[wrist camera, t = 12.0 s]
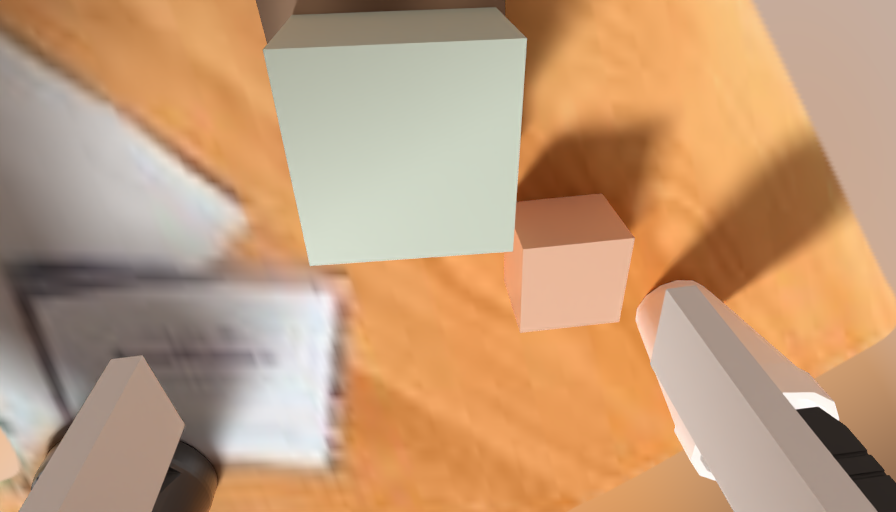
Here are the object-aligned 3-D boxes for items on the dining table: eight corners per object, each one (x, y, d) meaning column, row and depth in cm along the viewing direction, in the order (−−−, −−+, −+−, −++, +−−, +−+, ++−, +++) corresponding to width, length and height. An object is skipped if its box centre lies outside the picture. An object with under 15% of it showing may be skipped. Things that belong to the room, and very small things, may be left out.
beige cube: (503, 279, 40) (520, 332, 35) (504, 201, 36) (523, 249, 31) (590, 270, 40) (619, 321, 35) (601, 192, 36) (634, 238, 31)
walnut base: (319, 185, 34) (312, 215, 31) (271, -13, 27) (255, -1, 24) (495, 166, 35) (506, 194, 32) (491, -34, 28) (504, -25, 25)
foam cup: (656, 253, 40) (753, 380, 29) (749, 276, 42) (870, 403, 32) (598, 339, 45) (664, 475, 34) (685, 356, 47) (771, 488, 36)
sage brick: (324, 197, 30) (310, 265, 25) (291, 14, 25) (262, 49, 19) (490, 186, 31) (512, 251, 25) (495, 7, 25) (527, 38, 20)
